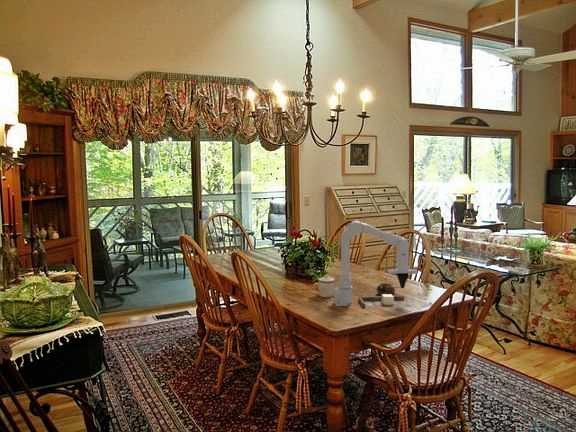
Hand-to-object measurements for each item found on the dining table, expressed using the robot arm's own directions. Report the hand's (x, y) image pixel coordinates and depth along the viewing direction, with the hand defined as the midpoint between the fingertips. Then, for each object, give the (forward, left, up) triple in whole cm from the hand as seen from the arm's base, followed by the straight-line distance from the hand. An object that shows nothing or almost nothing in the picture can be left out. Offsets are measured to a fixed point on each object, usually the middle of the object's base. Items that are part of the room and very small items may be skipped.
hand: (402, 287), depth 247 cm
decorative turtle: (-5, +16, -10) cm, 19 cm away
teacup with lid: (-38, +23, -10) cm, 45 cm away
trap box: (-9, -1, -9) cm, 13 cm away
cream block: (-8, 0, -8) cm, 11 cm away
